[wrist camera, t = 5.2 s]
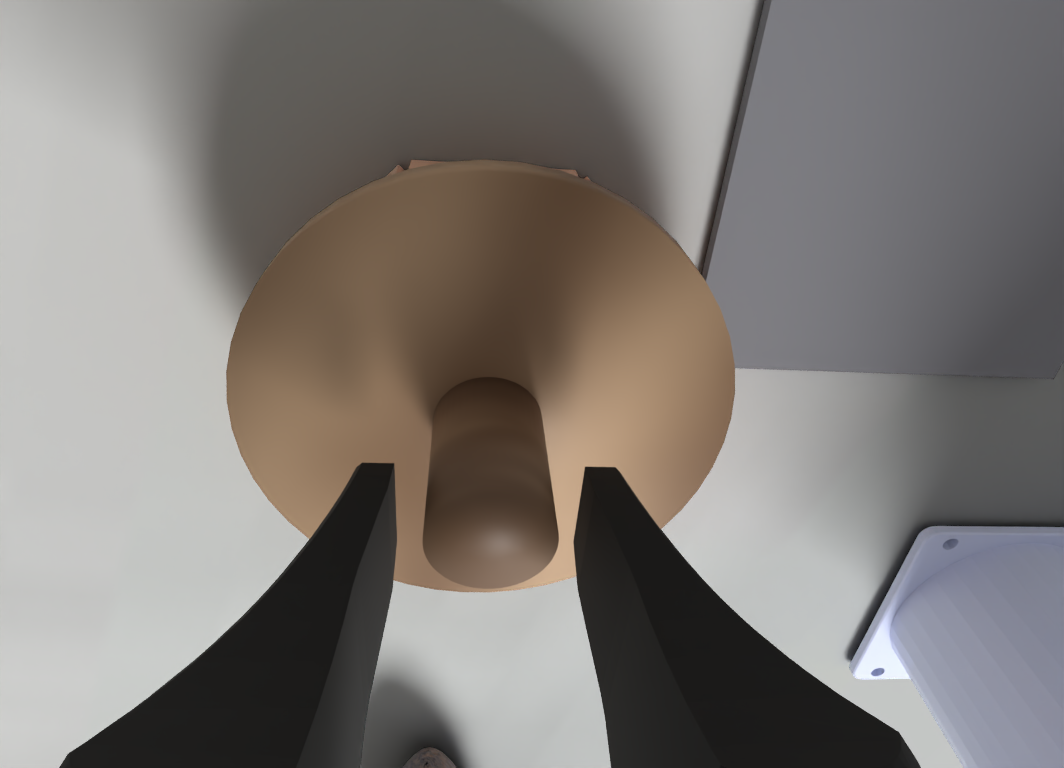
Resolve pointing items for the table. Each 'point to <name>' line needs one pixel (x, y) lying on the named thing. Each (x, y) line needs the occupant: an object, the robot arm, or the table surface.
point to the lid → (480, 366)
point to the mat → (897, 190)
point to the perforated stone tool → (429, 759)
